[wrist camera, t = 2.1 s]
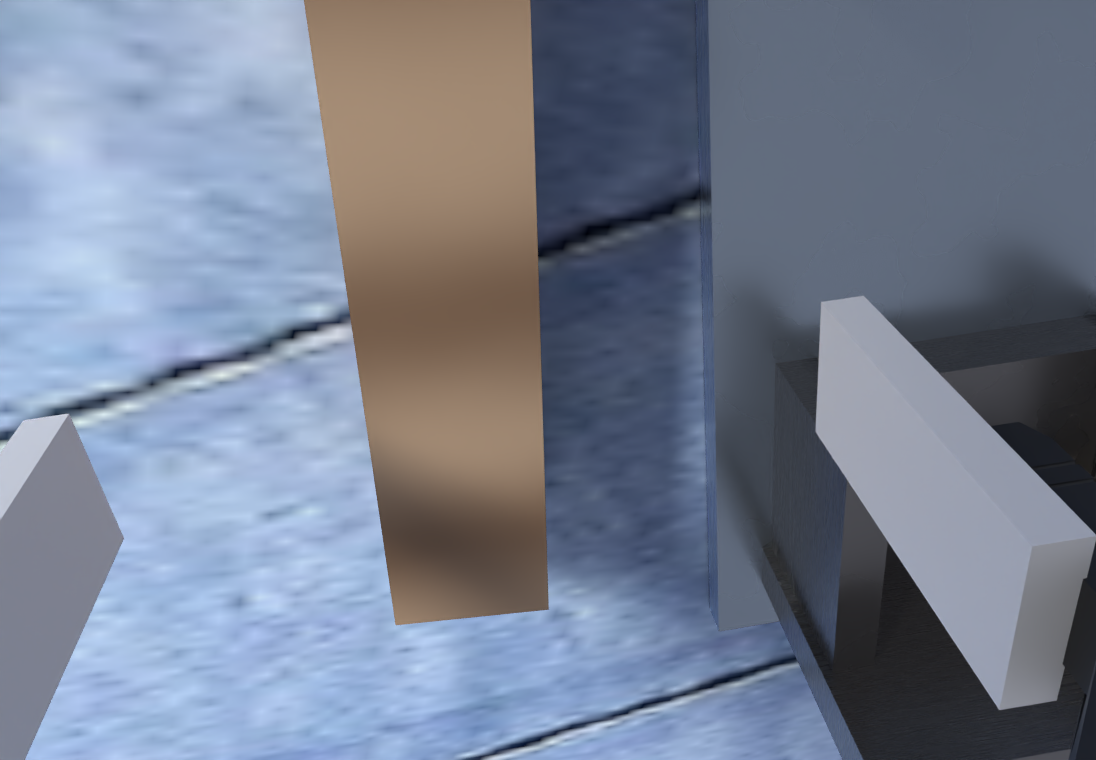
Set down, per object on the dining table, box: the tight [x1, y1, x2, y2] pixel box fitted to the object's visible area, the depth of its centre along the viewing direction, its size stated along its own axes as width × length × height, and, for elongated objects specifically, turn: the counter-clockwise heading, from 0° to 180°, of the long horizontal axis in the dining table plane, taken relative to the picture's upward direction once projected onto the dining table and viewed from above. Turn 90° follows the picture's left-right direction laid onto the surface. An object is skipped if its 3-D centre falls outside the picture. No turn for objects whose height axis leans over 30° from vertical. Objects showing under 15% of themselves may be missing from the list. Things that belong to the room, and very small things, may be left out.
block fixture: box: [695, 0, 1096, 760], centre depth 21 cm, size 32×14×10 cm, turn 6°
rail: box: [304, 0, 549, 625], centre depth 22 cm, size 18×4×6 cm, turn 1°
